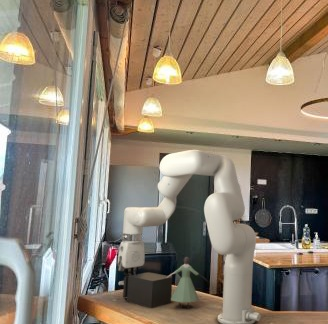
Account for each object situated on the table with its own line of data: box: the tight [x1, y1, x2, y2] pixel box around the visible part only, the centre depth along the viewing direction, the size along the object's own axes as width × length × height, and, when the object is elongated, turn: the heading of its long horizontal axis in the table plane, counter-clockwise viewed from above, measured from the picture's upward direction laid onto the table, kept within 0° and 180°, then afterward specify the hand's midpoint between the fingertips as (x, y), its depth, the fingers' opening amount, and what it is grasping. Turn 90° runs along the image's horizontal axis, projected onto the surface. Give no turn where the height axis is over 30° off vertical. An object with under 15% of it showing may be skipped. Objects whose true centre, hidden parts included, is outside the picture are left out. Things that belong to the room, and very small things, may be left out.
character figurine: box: [167, 256, 210, 309], centre depth 141 cm, size 16×8×18 cm, turn 91°
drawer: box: [117, 275, 128, 299], centre depth 148 cm, size 17×9×8 cm, turn 57°
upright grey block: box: [126, 271, 173, 309], centre depth 145 cm, size 13×10×9 cm
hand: (129, 284), depth 152 cm, fingers closed
